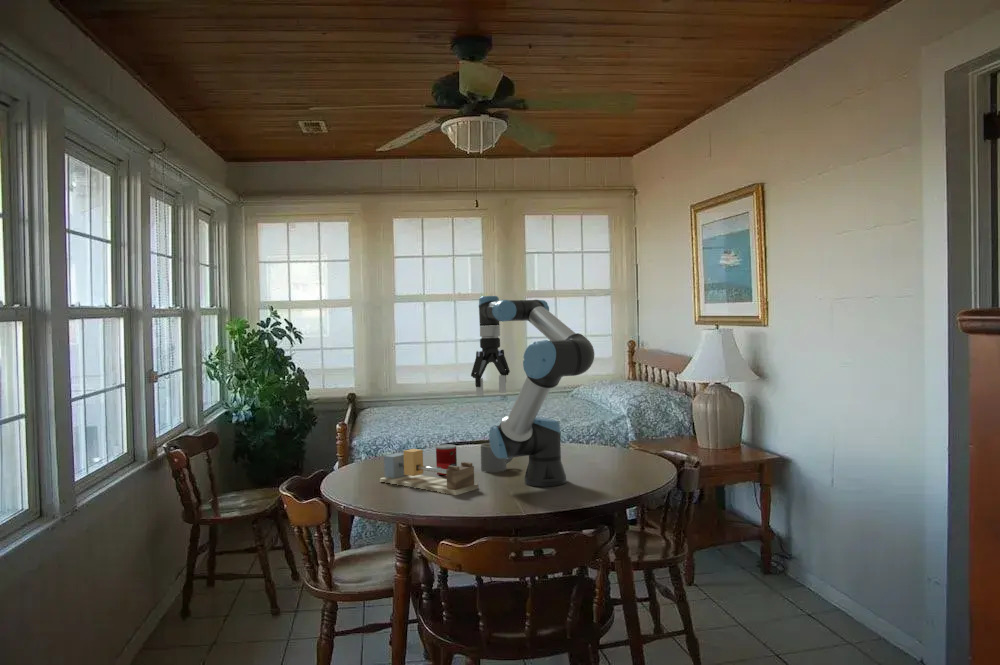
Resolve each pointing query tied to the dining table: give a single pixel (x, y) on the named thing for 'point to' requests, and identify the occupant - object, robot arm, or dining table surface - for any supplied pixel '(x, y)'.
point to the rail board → (441, 480)
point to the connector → (393, 465)
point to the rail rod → (427, 468)
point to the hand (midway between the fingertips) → (491, 394)
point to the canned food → (445, 456)
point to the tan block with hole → (413, 461)
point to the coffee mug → (492, 460)
